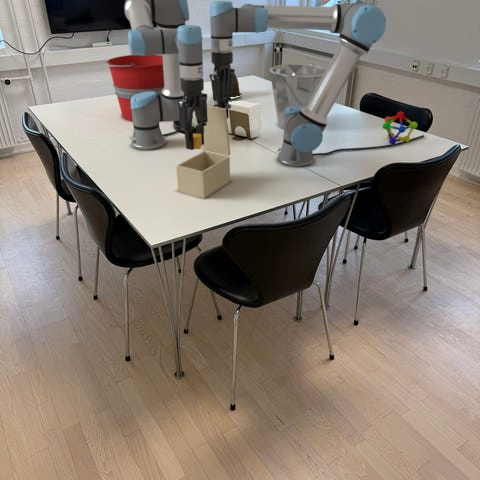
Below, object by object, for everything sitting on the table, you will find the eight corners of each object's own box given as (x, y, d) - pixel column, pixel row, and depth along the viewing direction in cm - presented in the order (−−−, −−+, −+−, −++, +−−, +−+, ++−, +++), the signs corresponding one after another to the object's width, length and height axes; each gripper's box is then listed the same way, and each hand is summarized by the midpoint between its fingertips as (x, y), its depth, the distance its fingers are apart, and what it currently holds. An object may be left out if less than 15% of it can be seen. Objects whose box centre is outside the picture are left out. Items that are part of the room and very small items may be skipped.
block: (200, 149, 155) (199, 137, 152) (188, 148, 155) (187, 137, 153) (202, 145, 158) (201, 133, 156) (190, 144, 158) (189, 133, 156)
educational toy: (377, 146, 209) (379, 114, 202) (384, 138, 219) (386, 107, 211) (411, 149, 202) (415, 116, 195) (417, 141, 212) (420, 109, 204)
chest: (204, 198, 160) (202, 172, 154) (178, 191, 165) (176, 165, 160) (229, 181, 172) (229, 156, 167) (205, 175, 178) (204, 150, 172)
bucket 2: (296, 138, 215) (301, 78, 201) (255, 124, 234) (256, 68, 219) (335, 125, 232) (342, 70, 217) (294, 113, 251) (297, 61, 236)
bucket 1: (121, 106, 263) (114, 51, 247) (180, 106, 262) (176, 52, 246) (104, 123, 233) (95, 63, 217) (170, 124, 232) (166, 64, 216)
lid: (224, 109, 155) (237, 100, 160) (196, 104, 160) (210, 96, 165) (228, 155, 166) (240, 145, 172) (203, 149, 172) (215, 140, 177)
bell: (227, 105, 294) (202, 96, 282) (238, 66, 289) (213, 55, 277) (243, 108, 280) (217, 98, 268) (255, 66, 275) (229, 55, 263)
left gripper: (183, 85, 136) (187, 156, 148) (217, 74, 149) (218, 140, 161) (164, 82, 139) (170, 152, 151) (199, 71, 152) (202, 137, 165)
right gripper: (219, 55, 147) (220, 125, 159) (242, 49, 158) (241, 115, 170) (200, 53, 150) (203, 121, 163) (224, 47, 161) (225, 112, 173)
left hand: (195, 146), depth 156 cm, fingers closed on block, 5 cm apart
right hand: (223, 118), depth 166 cm, fingers closed on lid, 2 cm apart
